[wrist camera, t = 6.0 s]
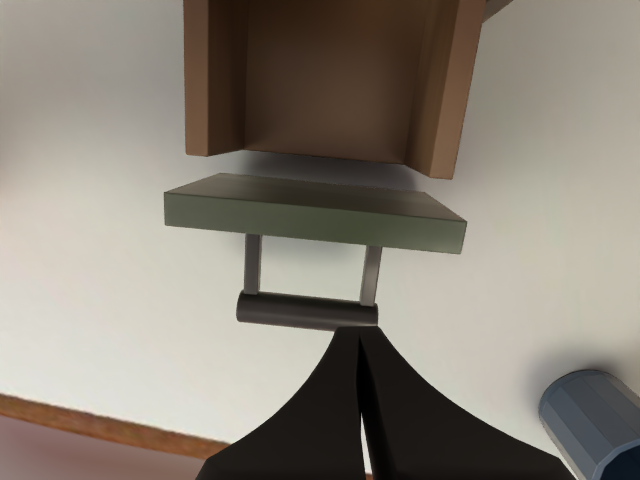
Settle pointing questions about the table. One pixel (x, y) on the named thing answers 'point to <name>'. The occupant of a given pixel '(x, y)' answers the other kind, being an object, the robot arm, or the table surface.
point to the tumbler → (594, 425)
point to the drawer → (325, 130)
